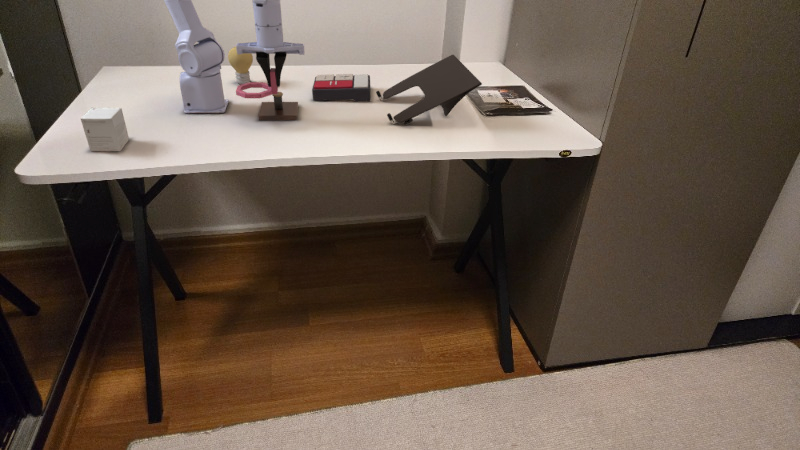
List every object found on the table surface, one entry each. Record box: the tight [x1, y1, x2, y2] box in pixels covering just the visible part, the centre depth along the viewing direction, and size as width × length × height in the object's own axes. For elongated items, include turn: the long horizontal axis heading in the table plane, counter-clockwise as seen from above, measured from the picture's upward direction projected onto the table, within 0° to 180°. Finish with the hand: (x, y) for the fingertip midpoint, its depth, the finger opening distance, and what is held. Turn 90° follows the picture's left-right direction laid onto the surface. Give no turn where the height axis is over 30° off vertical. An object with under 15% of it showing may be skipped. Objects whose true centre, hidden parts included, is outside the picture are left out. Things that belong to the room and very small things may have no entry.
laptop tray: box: [375, 54, 483, 125], centre depth 133 cm, size 23×23×9 cm
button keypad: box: [311, 73, 371, 103], centre depth 141 cm, size 11×4×15 cm
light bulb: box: [227, 46, 254, 85], centre depth 143 cm, size 6×6×10 cm
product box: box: [80, 107, 130, 152], centre depth 109 cm, size 6×6×7 cm
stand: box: [258, 91, 299, 121], centre depth 128 cm, size 9×9×5 cm
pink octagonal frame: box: [235, 67, 279, 99], centre depth 120 cm, size 9×8×5 cm
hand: (274, 85), depth 121 cm, fingers closed on pink octagonal frame
